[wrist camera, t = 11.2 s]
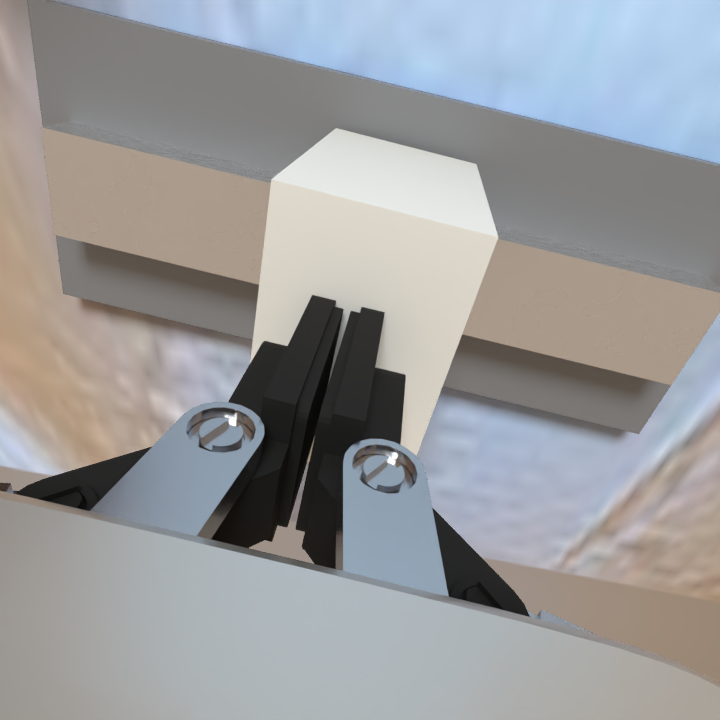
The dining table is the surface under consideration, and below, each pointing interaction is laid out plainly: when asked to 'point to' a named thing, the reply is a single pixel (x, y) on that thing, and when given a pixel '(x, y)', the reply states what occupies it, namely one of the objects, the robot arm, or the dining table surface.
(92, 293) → the mounting plate
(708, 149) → the dining table surface
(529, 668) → the robot arm
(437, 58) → the dining table surface
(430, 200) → the block
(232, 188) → the rail
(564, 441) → the dining table surface
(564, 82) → the dining table surface
